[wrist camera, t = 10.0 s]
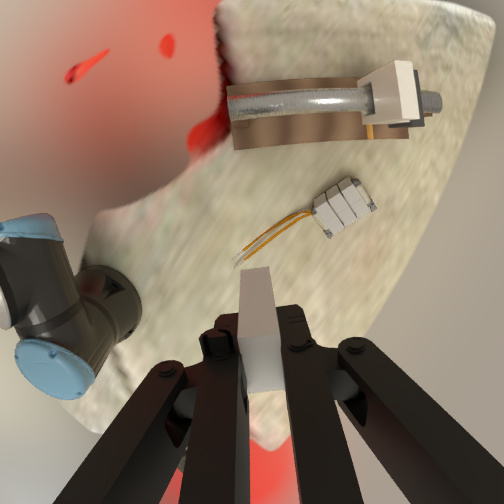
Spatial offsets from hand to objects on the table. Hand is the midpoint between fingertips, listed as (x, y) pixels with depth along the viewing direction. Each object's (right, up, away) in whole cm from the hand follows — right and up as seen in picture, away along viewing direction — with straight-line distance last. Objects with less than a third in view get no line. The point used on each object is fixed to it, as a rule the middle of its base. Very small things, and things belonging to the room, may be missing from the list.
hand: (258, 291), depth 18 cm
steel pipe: (+10, +21, +18) cm, 29 cm away
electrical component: (+7, +6, +34) cm, 36 cm away
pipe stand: (+10, +24, +28) cm, 38 cm away
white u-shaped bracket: (+16, +22, +19) cm, 33 cm away
